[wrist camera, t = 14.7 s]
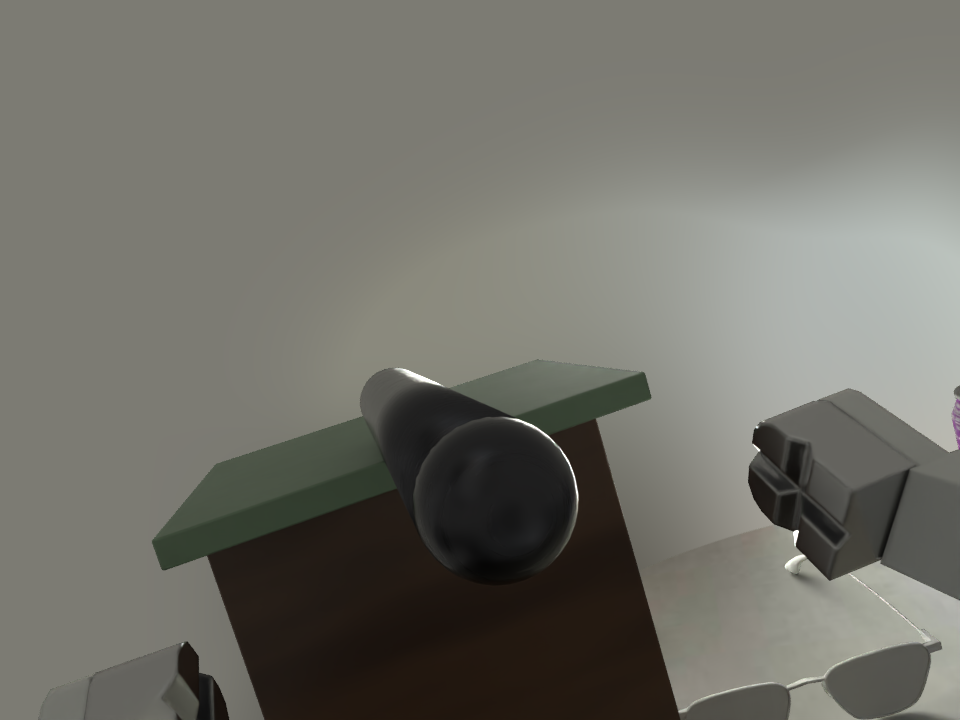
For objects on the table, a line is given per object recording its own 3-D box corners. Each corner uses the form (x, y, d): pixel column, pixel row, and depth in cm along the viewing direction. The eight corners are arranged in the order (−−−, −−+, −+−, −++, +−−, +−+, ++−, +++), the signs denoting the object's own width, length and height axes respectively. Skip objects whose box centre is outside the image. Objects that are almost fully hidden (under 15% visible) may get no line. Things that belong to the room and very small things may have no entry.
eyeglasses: (686, 774, 38) (668, 709, 37) (619, 616, 56) (607, 571, 55) (958, 700, 37) (942, 634, 37) (802, 565, 55) (790, 520, 55)
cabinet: (755, 971, 27) (589, 380, 24) (416, 1164, 24) (188, 516, 21) (638, 799, 37) (512, 366, 34) (389, 921, 34) (231, 458, 31)
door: (1027, 473, 9) (982, 263, 8) (-107, 965, 6) (-229, 682, 6) (543, 377, 28) (524, 312, 28) (221, 484, 25) (197, 413, 25)
